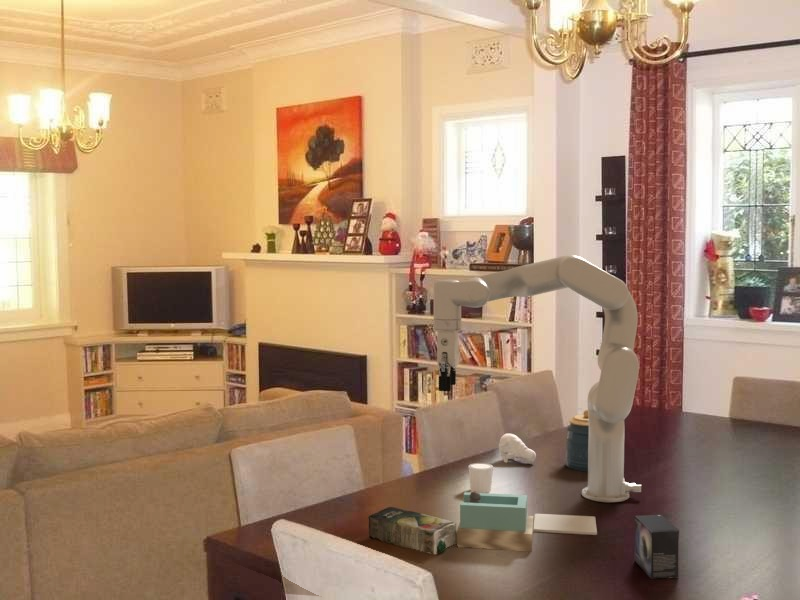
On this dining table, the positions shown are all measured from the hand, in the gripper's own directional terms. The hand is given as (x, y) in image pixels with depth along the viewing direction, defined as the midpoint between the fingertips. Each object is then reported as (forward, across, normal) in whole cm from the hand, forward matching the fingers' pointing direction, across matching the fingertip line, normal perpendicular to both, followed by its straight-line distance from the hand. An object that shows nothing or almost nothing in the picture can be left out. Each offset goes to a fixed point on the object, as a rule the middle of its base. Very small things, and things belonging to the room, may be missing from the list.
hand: (447, 387), depth 248 cm
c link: (+26, -34, -17) cm, 46 cm away
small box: (+30, -46, -52) cm, 75 cm away
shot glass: (+30, +5, -9) cm, 32 cm away
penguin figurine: (+30, +37, -17) cm, 51 cm away
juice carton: (+30, -38, +3) cm, 49 cm away
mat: (+30, -20, -32) cm, 48 cm away
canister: (+30, +36, -38) cm, 60 cm away
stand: (+30, -34, -16) cm, 48 cm away
